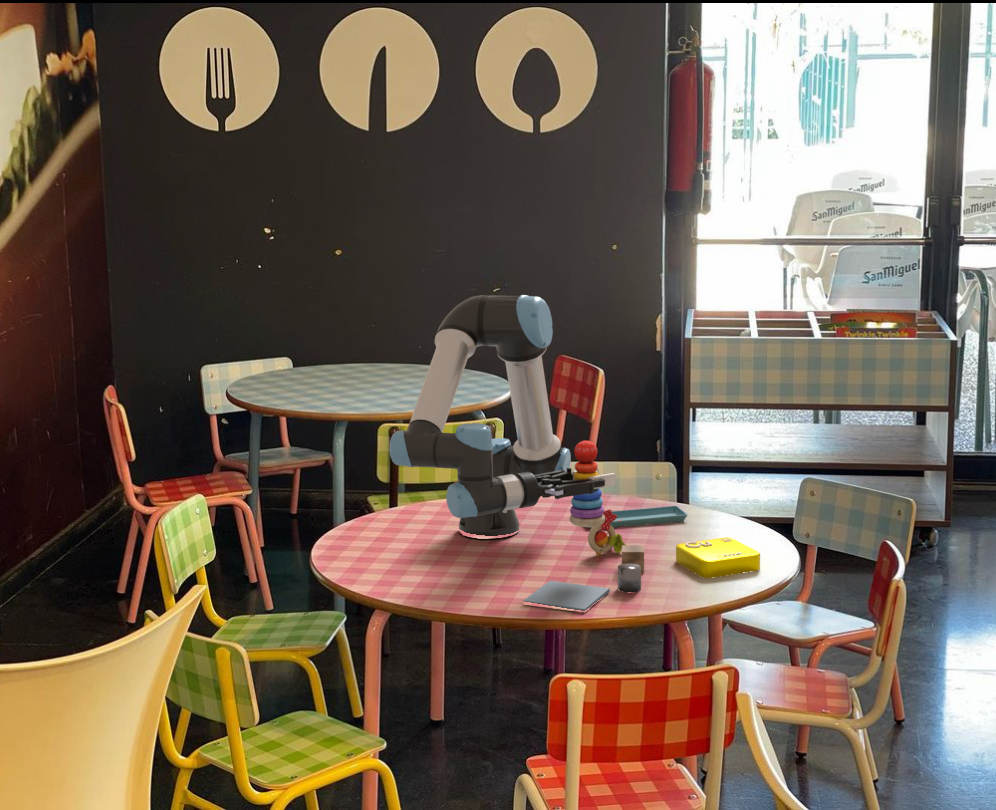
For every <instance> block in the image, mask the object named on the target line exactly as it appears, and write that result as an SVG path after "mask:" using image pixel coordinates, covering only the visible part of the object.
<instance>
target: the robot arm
mask: <svg viewBox="0 0 996 810" xmlns="http://www.w3.org/2000/svg"><path fill="white" fill-rule="evenodd" d="M553 332H554V329H553V318H552V314H551V310H550V307H549V305H548V304H547V302H546V301H545V300H544V299H543V298H541V297H540V296H536V295H535V296H532V295H530V296H529V295H527V294H526V295H525V294H521V295H486V294H485V295H482V294H480V295H475V296H471V297H469V298H467V299H465V300H463V301H461V302H460V303H459V304H457V305H456V306H454V308H453V309H452V310H451V311H450V312H449V313H448V314H447V315H446V316H445V317H444V319H443V320H442V322H441V323H440V325H439V327H438V329H437V331H436V335H435V337H434V345H435V350H434V353H433V357H432V359H431V362H430V364H429V366H428V367H429V368H428V370H427V373H426V375H425V379H424V381H423V384H422V388H421V390H420V393H419V395H418V398H417V401H416V404H415V407H414V409H413V412H412V415H411V418H410V421H409V423H408V426H407V429H406V430H402V429H401V430H397V431H395V432H394V433H393V434H392V436H391V437H390V441H389V455H390V458H391V461H392V463H393V464H395V465H397V466H402V467H407V468H408V467H410V468H435V469H436V468H437V469H449V470H450V469H453V470H456V471H457V474H456V475H457V481H456V482H454V483H452V484H449V485H448V487H447V491H446V495H445V496H446V497H445V499H446V505H447V507H448V510H449V513H450V514H451V515H452V516H453V517H455V518H458V519H459V523H458V530H459V529H460V530H462V531H464V532H466V533H470V534H476V535H485V536H498V535H506V534H511V533H514V532H516V531H518V530H519V531H520V522H519V519H518V515H517V513H516V509H524V508H525V509H526V508H531V507H534V506H536V505H537V503H538V502H539V500H540V498H541V497H542V498H544V499H547V498H551V497H554V499H555V500H560V499H563V498H566V497H567V498H568V497H573V496H575V495H582V494H588V493H589V494H592V493H594V489H598V488H599V489H603V488H609V487H616V473H614V472H611V473H604V474H600V468H599V467H598V468H597V470H596V472H598V474H599V475H598V476H592V477H589V479H579V480H575V479H574V473H575V472H577V471H576V470H573V471H572V468H571V463H572V462H571V461H572V459H571V456H572V455H571V451H570V449H569V448H566V447H562V444H561V439H560V438H559V437H558V436H557V435H555V434H553V426H552V418H551V412H550V407H549V405H550V404H549V399H548V397H549V396H548V392H547V386H546V385H547V384H546V376H545V371H544V365H543V357H542V356H543V355H544V354H545V352H546V351H547V347H549V346H550V344H551V343H552V339H553ZM482 346H485V347H495V348H496V349H495V350H496V353H497V357H498V358H499V359H500V360H502V361H503V362H504V363H505V368H506V374H507V382H508V387H509V393H510V394H509V395H510V400H511V406H512V410H513V418H514V422H515V423H514V424H515V429H516V437H517V440H516V441H515V442H514V443H513V445H512V443H511V440H510V439H509V438H505V437H504V438H503V437H501V438H500V437H499V438H498V437H496V438H493V435H492V430H491V427H490V426H489V425H487V424H485V423H480V422H479V423H478V422H472V423H470V422H469V423H462V424H460V425H458V426H457V427H456V429H455V432H443V431H444V429H445V426H446V423H447V420H448V417H449V414H450V411H451V408H452V405H453V403H454V400H455V398H456V393H457V391H458V389H459V385H460V382H461V379H462V377H463V373H464V370H465V367H466V365H467V361H468V359H469V358H470V357H472V356H473V355H474V354H475V352H476V350H477V348H478V347H482Z"/></svg>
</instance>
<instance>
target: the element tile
mask: <svg viewBox="0 0 996 810" xmlns="http://www.w3.org/2000/svg"><path fill="white" fill-rule="evenodd" d="M675 561H676V562H675V563H677V564H678V565H680V566H681V565H682V566H681V567H683V568H685V569H686V568H687V569H686V570H688V569H689V570H688V571H690V572H692V573H694V574H695V573H696V574H695V575H697V576H698V575H699V576H698V577H700V576H701V578H703V577H704V578H703V579H713V578H712V577H716V578H721V577H720V576H722V577H727V576H726V575H729V576H732V575H731V574H736V575H739V574H738V573H742V574H744V573H743V572H749V573H751V572H750V571H755V572H757V570H759V569H760V570H761V553H760V552H759V551H758V550H756V549H753V548H752V547H750V546H748V545H747V544H744V543H742V542H740V541H739V540H736V539H735V538H732V537H730V536H727V537H718V538H712V539H711V538H710V539H702V540H696V541H688V542H683V543H681V542H680V543H678V544H676V546H675ZM760 570H759V571H760Z"/></svg>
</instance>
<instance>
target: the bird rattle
mask: <svg viewBox="0 0 996 810" xmlns="http://www.w3.org/2000/svg"><path fill="white" fill-rule="evenodd" d="M612 511H613V510H612V509H607V510H604V513H603V515H604V516H605V522H604V523H603V524H601V525H599V526H595V527H592V528H591V529H590V528H589V529H590V530H589V532H588V536H587V542H588V545H589V547H590V548H591V550H592V551H593V552H595V554H596V556H601V555H602V554H605V553H608V552H610V550H611V549H613V551H614V553H616V554H620V553H621V552H622V545H627V544H626V543H625V542H624V540H623V537H622V535H621V534H620V533H616V531H615V529H614V528H615V527H612V526H611V525H610V524H609V523H611V522H613V521H614V520H616V519H617V515H615V514H613V513H612ZM606 532H607V533H606Z"/></svg>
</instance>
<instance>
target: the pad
mask: <svg viewBox="0 0 996 810" xmlns="http://www.w3.org/2000/svg"><path fill="white" fill-rule="evenodd" d="M610 591H611V589H610V588H609V587H602V586H601V587H600V586H596V585H595V586H593V585H587V584H579V583H571V582H564V581H556V580H549V581H547V582H546V583H545V584H543V585H542V586H540V588H538V589H537V590H536V591H534V592H533V593H531V594H530V595H528V596H527V597H526V598H524V599H523V600H522V601H525V602H531V603H537V604H543V605H548V606H555V607H561V608H567V609H574V610H581V611H585V610H587V609H588V608H590V607H591V606H592V605H593V604H594V603H596V602H597V601H598V600H600V599H601V598H603V597H604V596H605V595H606V594H608V593H609V592H610ZM609 594H610V593H609ZM609 594H608V595H609ZM606 596H607V595H606ZM606 596H605V597H606ZM605 597H604V598H605ZM604 598H603V599H604ZM600 601H601V600H600Z"/></svg>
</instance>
